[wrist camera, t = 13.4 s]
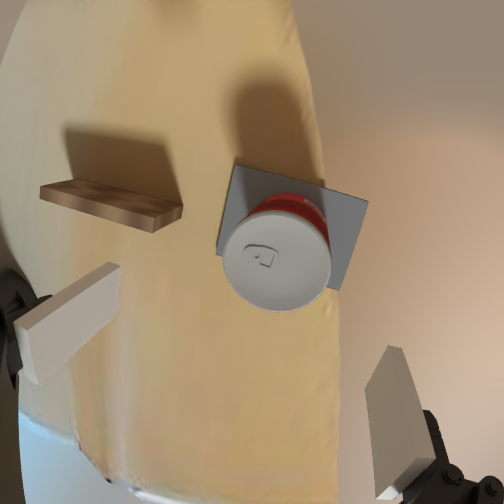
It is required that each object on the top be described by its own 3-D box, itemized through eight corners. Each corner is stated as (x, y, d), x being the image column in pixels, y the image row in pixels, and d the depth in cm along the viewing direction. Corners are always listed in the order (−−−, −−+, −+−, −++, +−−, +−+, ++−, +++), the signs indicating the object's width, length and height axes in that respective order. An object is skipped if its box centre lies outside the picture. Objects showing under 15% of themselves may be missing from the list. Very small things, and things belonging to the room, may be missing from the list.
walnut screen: (75, 189, 38) (39, 198, 31) (77, 178, 37) (40, 186, 31) (181, 217, 36) (152, 233, 30) (183, 205, 36) (154, 218, 29)
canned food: (252, 189, 33) (222, 207, 23) (331, 196, 31) (338, 217, 21) (249, 260, 35) (220, 306, 25) (323, 268, 34) (324, 319, 24)
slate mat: (217, 252, 37) (215, 254, 36) (236, 164, 33) (234, 164, 32) (338, 287, 35) (339, 290, 34) (367, 200, 32) (368, 202, 31)
